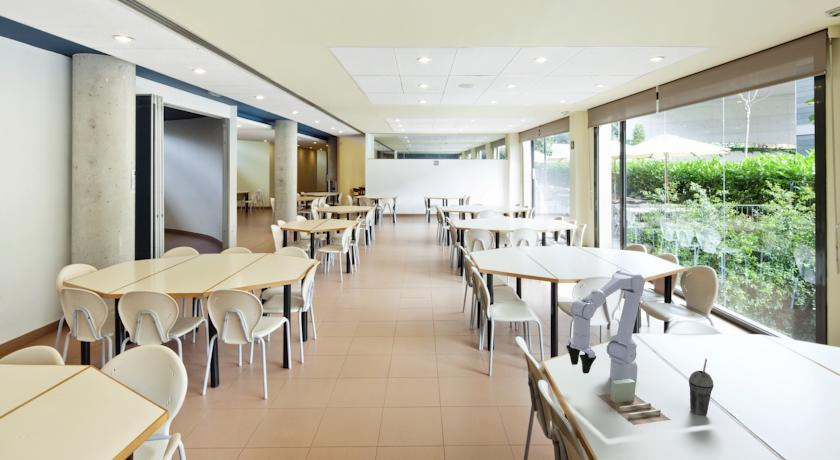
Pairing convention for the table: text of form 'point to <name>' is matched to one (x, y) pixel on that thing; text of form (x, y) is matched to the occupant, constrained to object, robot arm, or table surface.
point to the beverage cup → (700, 391)
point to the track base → (635, 410)
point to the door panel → (622, 390)
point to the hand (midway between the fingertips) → (580, 368)
